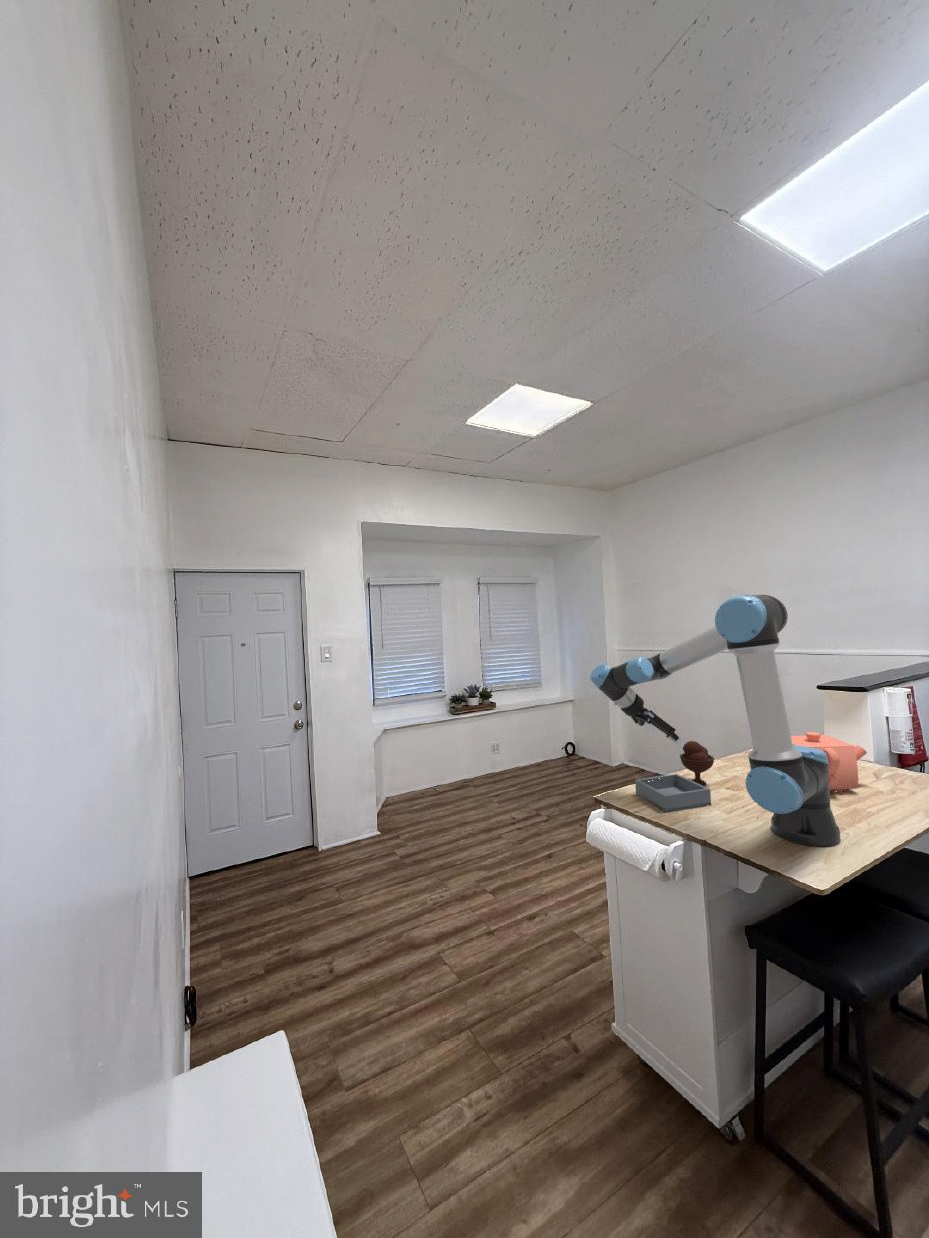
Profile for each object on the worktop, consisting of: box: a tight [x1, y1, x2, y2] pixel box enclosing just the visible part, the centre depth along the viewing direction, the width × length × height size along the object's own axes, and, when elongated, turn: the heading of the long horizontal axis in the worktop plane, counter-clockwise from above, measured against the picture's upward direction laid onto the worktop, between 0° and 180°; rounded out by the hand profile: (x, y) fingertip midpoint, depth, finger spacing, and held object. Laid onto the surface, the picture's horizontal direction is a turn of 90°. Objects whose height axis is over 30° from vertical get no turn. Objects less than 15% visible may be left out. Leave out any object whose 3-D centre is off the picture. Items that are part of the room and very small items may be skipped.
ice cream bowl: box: [679, 740, 715, 787], centre depth 169 cm, size 11×11×15 cm
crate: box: [634, 773, 712, 814], centre depth 157 cm, size 16×16×5 cm
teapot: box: [791, 731, 868, 793], centre depth 161 cm, size 25×23×18 cm
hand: (669, 740), depth 167 cm, fingers open, 13 cm apart
